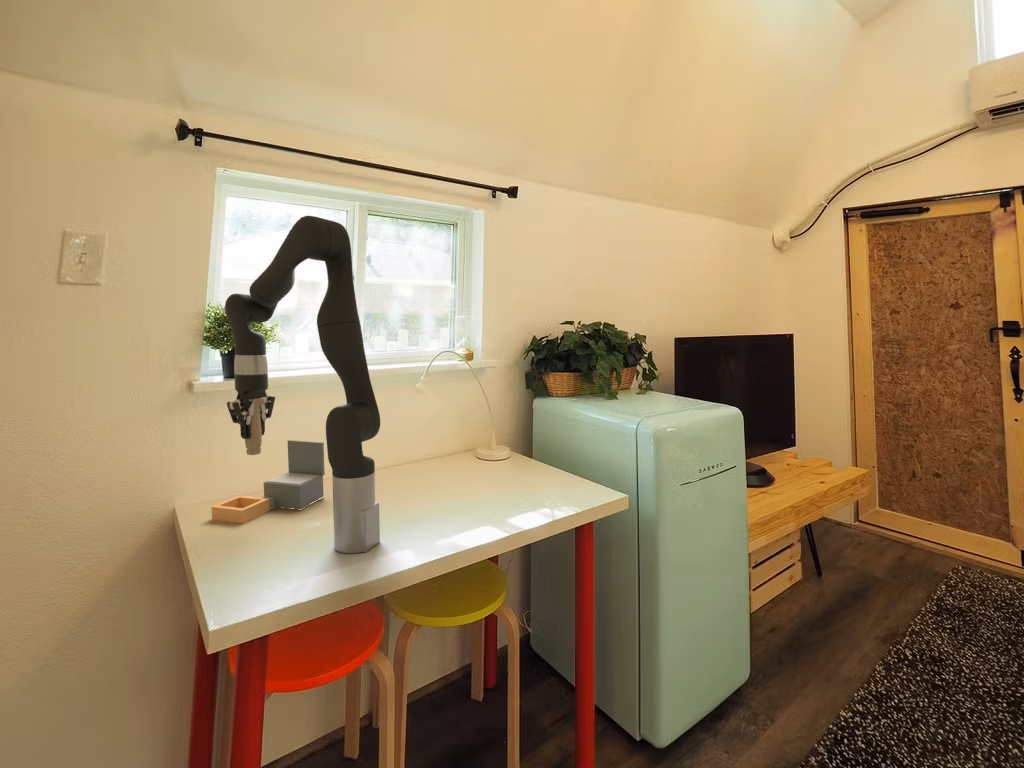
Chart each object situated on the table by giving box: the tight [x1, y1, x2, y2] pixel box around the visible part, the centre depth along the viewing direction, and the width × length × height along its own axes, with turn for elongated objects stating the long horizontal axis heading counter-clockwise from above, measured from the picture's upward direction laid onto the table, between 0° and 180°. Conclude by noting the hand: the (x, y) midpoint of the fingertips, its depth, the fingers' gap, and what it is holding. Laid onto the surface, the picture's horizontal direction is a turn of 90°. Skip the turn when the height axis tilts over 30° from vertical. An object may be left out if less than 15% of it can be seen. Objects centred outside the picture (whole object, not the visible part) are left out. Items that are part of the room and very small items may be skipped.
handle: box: [244, 397, 266, 456], centre depth 118 cm, size 5×6×15 cm
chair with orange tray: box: [210, 439, 325, 524], centre depth 126 cm, size 18×22×17 cm
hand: (253, 436), depth 118 cm, fingers closed on handle, 4 cm apart
